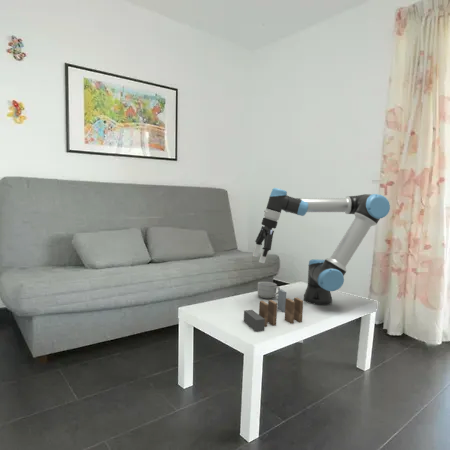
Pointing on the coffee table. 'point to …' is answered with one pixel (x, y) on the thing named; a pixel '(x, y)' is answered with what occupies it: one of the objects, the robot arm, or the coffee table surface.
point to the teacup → (267, 289)
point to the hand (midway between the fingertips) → (258, 259)
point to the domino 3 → (281, 300)
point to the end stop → (254, 320)
